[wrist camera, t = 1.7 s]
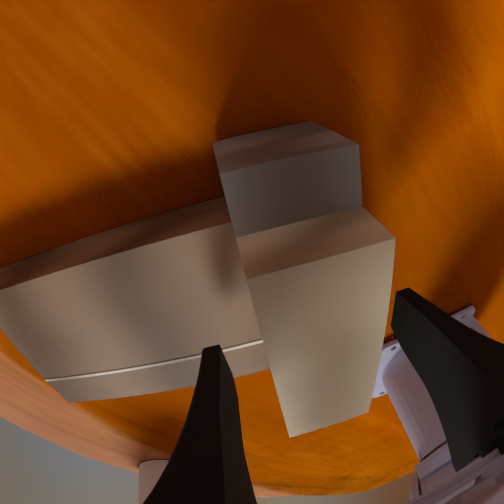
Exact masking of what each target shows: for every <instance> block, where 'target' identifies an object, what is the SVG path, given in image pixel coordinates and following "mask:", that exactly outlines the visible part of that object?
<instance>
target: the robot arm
mask: <svg viewBox="0 0 504 504" xmlns="http://www.w3.org/2000/svg"><path fill="white" fill-rule="evenodd" d="M474 312H475V308H474V306H469V307H467V308H465V309H463V310H461V311H459V312H457V313H455V314H453V315H451V316H450V315H448V314H447V313H445V312H444V311H442V310H441V309H439V308H438V307H436V306H435V305H433V304H432V303H431V302H429V301H428V300H426V299H425V298H423V297H422V296H420V295H419V294H417V293H416V292H414V291H413V290H411V289H410V288H406V289H403V290H400V291H398V292H396V296H395V303H394V309H393V315H392V321H391V327H392V329H393V332H394V334H395V336H396V338H397V339H395V340H393V341H390V342H388V343H386V344H384V345H383V347H382V352H381V358H380V363H379V368H378V373H377V377H376V382H375V387H374V391H373V395H372V398H377V397H379V396H382V395H384V394H386V393H387V394H388V396H389V398H390V400H391V402H392V404H393V406H394V408H395V410H396V412H397V414H398V416H399V418H400V420H401V422H402V424H403V426H404V428H405V431H406V433H407V435H408V437H409V439H410V441H411V443H412V445H413V447H414V450H415V452H416V454H417V456H418V458H419V460H420V463H419V464H417V465H415V466H414V468H415V470H416V474H415V475H414V476H413V479H412V481H411V485H410V490H409V496H410V501H408V502H405V503H403V504H504V344H502V343H500V342H497V341H495V340H493V339H492V338H491V337H490V336H489V335H488V333H487V332H486V331H485V330H484V328H483V327H482V326H481V325H480V323H479V322H478V321H477V320H476V318H475V317H474V316H473V315H474ZM143 504H257V502H256V499H255V495H254V491H253V487H252V483H251V480H250V476H249V472H248V467H247V463H246V459H245V454H244V448H243V441H242V432H241V423H240V414H239V405H238V396H237V392H236V387H235V382H234V378H233V374H232V371H231V369H230V367H229V365H228V362H227V360H226V358H225V356H224V353H223V351H222V349H221V346H220V344H219V345H215V346H210V347H206V348H204V349H203V350H202V356H201V362H200V368H199V373H198V378H197V383H196V387H195V391H194V395H193V399H192V402H191V405H190V409H189V412H188V415H187V418H186V421H185V424H184V427H183V430H182V432H181V435H180V437H179V440H178V442H177V444H176V447H175V449H174V451H173V453H172V455H171V457H170V459H169V461H168V463H167V465H166V467H165V469H164V471H163V473H162V474H161V476H160V478H159V479H158V481H157V483H156V485H155V486H154V488H153V489H152V491H151V492H150V494H149V495H148V497H147V498H146V500H145V501H144V502H143Z"/></svg>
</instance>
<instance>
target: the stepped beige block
mask: <svg viewBox="0 0 504 504" xmlns="http://www.w3.org/2000/svg"><path fill="white" fill-rule="evenodd" d="M212 145H213V149H214V154H215V158H216V162H217V166H218V170H219V175H220V179H221V182H222V186H223V190H224V194H225V198H226V202H227V206H228V210H229V214H230V217H231V221H232V225H233V229H234V233H235V237H236V241H237V245H238V249H239V253H240V256H241V260H242V264H243V268H244V272H245V276H246V280H247V284H248V288H249V291H250V295H251V299H252V302H253V306H254V310H255V314H256V317H257V321H258V325H259V328H260V332H261V336H262V339H263V343H264V347H265V350H266V354H267V358H268V361H269V365H270V369H271V372H272V376H273V380H274V383H275V387H276V390H277V394H278V398H279V401H280V405H281V408H282V412H283V415H284V419H285V423H286V426H287V430H288V433H289V437H293V436H297V435H301V434H304V433H308V432H311V431H314V430H318V429H321V428H324V427H327V426H330V425H333V424H336V423H339V422H342V421H345V420H348V419H351V418H354V417H356V416H359V415H362V414H364V413H367V412H369V408H370V404H371V400H372V395H373V391H374V387H375V382H376V377H377V373H378V368H379V363H380V358H381V352H382V347H383V341H384V335H385V329H386V322H387V316H388V309H389V301H390V293H391V285H392V275H393V265H394V253H395V240H396V238H395V237H394V236H393V235H392V234H391V233H390V232H389V231H388V230H387V229H386V228H385V227H384V226H383V225H382V224H381V223H380V222H379V221H378V220H376V219H375V218H374V217H373V216H372V215H371V214H370V213H369V212H368V211H367V210H366V209H365V208H364V207H363V206H362V184H361V165H360V150H359V144H358V143H356V142H354V141H352V140H350V139H348V138H346V137H344V136H342V135H340V134H338V133H336V132H334V131H332V130H330V129H328V128H326V127H324V126H321V125H319V124H317V123H315V122H313V121H309V122H303V123H298V124H292V125H287V126H282V127H277V128H272V129H267V130H262V131H257V132H253V133H248V134H244V135H240V136H235V137H231V138H227V139H223V140H219V141H215V142H212Z"/></svg>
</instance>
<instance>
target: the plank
mask: <svg viewBox="0 0 504 504" xmlns="http://www.w3.org/2000/svg"><path fill="white" fill-rule="evenodd" d="M0 328H1V330H2V331H3V332H4V333H5V335H6V336H7V337H8V338H9V340H10V341H11V342H12V343H13V344H14V346H15V347H16V348H17V349H18V350H19V352H20V353H21V354H22V355H23V356H24V357H25V358H26V359H27V361H28V362H29V363H30V364H31V365H32V366H33V367H34V368H35V369H36V370H37V371H38V373H39V374H40V375H41V376H42V377H43V378H44V379H45V381H46V382H48V383H49V384H50V385H51V386H52V387H53V388H54V389H55V390H56V391H57V392H58V393H59V394H60V395H61V396H62V397H63V398H65V399H66V400H67V401H68V402H81V401H93V400H103V399H112V398H121V397H129V396H136V395H144V394H150V393H157V392H163V391H169V390H175V389H181V388H186V387H192V386H196V383H197V378H198V373H199V368H200V362H201V356H202V350H203V349H204V348H206V347H210V346H215V345H219V344H220V346H221V349H222V351H223V353H224V356H225V358H226V360H227V362H228V365H229V367H230V369H231V371H232V374H233V378H235V377H239V376H243V375H247V374H252V373H256V372H260V371H264V370H267V369H270V365H269V361H268V358H267V354H266V350H265V347H264V343H263V339H262V336H261V332H260V328H259V325H258V321H257V317H256V314H255V310H254V306H253V302H252V299H251V295H250V291H249V288H248V284H247V280H246V276H245V272H244V268H243V264H242V260H241V256H240V253H239V249H238V245H237V241H236V237H235V233H234V229H233V225H232V221H231V217H230V214H229V210H228V206H227V202H226V198H225V196H224V197H220V198H216V199H212V200H209V201H205V202H201V203H198V204H194V205H190V206H187V207H183V208H180V209H176V210H172V211H169V212H165V213H162V214H159V215H155V216H152V217H148V218H145V219H142V220H138V221H135V222H132V223H129V224H125V225H122V226H119V227H116V228H113V229H109V230H106V231H103V232H100V233H97V234H94V235H91V236H88V237H85V238H82V239H79V240H76V241H73V242H70V243H67V244H64V245H61V246H59V247H56V248H53V249H50V250H47V251H45V252H42V253H39V254H36V255H34V256H31V257H28V258H25V259H23V260H20V261H17V262H15V263H12V264H10V265H7V266H4V267H2V268H0Z"/></svg>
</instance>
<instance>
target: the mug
mask: <svg viewBox="0 0 504 504" xmlns="http://www.w3.org/2000/svg"><path fill="white" fill-rule="evenodd" d="M168 461H169V460H150V461H145V462H143V463H141V464H140V465H139V504H143V502H144V501H145V500H146V498H147V497H148V495H149V494H150V492H151V491H152V489H153V488H154V486H155V485H156V483H157V481H158V479H159V478H160V476H161V474H162V473H163V471H164V469H165V467H166V465H167V463H168Z"/></svg>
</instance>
